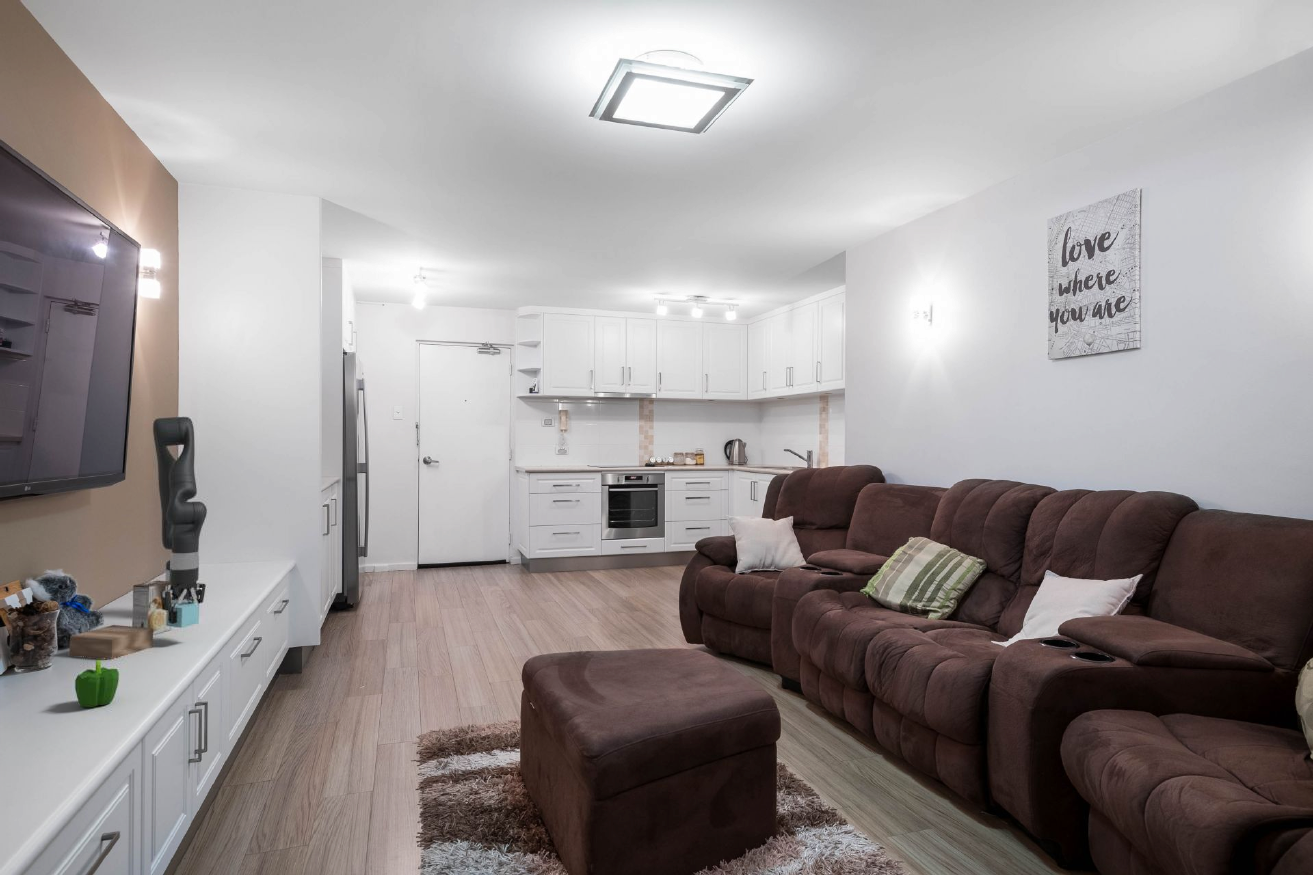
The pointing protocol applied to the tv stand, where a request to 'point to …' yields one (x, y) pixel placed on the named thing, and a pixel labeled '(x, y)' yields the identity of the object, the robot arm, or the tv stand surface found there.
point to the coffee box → (150, 606)
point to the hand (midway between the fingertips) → (182, 620)
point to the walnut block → (111, 642)
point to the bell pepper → (96, 686)
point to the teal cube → (185, 615)
